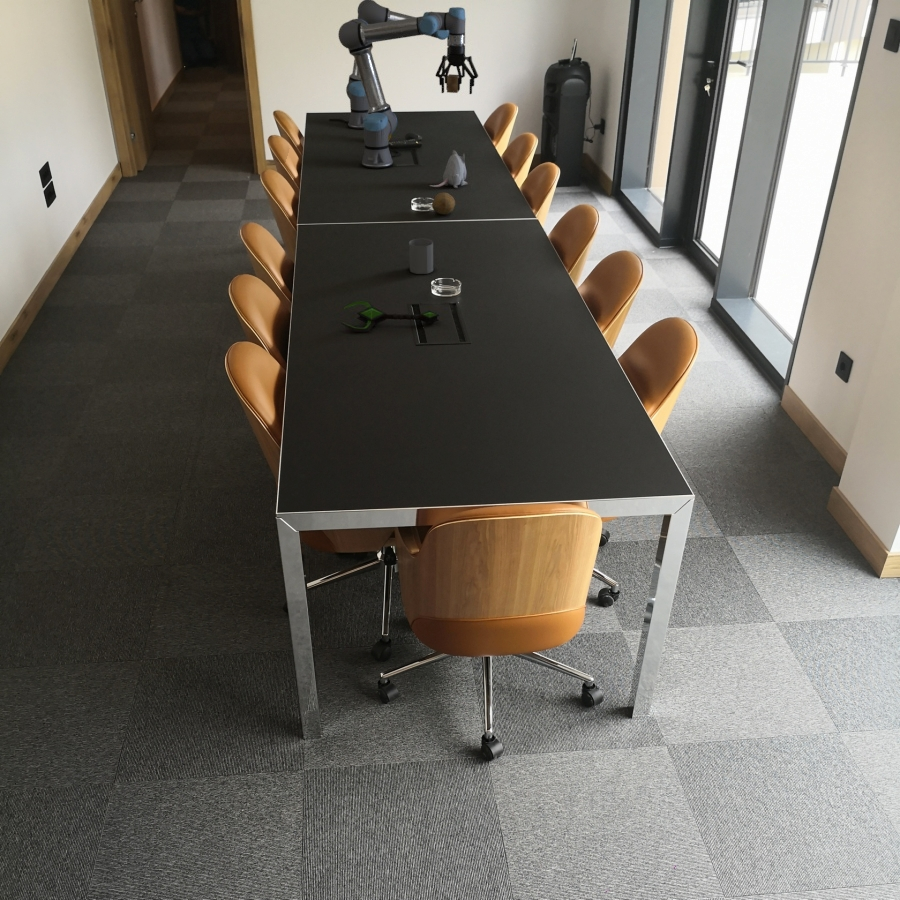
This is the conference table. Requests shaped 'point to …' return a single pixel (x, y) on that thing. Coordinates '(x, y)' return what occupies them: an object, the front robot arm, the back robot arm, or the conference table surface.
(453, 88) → the brick
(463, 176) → the toy
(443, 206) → the potato
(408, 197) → the conference table surface
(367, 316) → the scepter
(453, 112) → the conference table surface
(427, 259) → the cup
